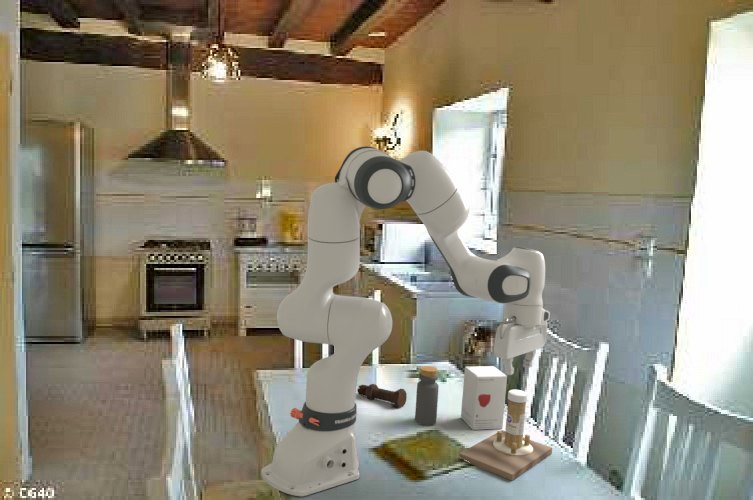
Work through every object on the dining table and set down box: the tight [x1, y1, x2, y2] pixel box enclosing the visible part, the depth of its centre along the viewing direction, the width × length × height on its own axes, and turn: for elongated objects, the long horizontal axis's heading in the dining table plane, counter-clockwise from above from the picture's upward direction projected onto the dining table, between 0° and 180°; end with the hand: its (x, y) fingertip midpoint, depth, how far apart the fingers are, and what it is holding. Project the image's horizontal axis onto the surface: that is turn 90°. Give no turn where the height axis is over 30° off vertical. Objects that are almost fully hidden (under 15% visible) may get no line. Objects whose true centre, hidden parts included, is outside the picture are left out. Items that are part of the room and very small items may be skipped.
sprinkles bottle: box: [504, 389, 528, 448], centre depth 144 cm, size 5×5×14 cm
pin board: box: [458, 429, 553, 481], centre depth 142 cm, size 20×14×4 cm
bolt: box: [356, 383, 408, 409], centre depth 174 cm, size 6×5×15 cm
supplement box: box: [460, 365, 508, 431], centre depth 161 cm, size 9×9×15 cm
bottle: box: [414, 365, 440, 427], centre depth 160 cm, size 6×6×15 cm
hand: (518, 370), depth 142 cm, fingers open, 8 cm apart
